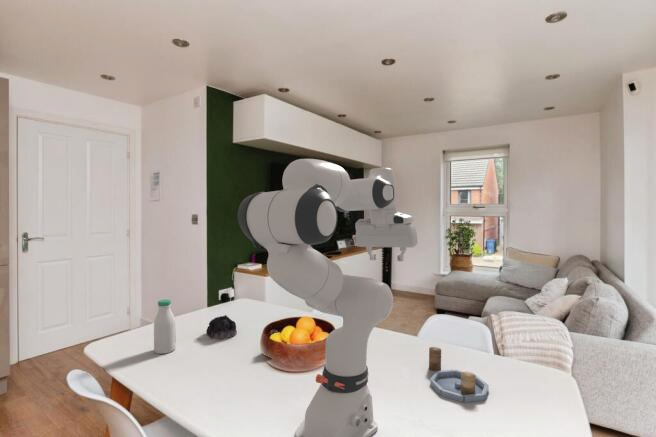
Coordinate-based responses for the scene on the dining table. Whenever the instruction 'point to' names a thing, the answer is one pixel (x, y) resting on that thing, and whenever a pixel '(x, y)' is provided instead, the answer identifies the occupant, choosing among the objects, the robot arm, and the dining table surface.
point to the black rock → (221, 328)
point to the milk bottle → (164, 329)
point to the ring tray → (457, 386)
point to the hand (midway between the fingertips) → (386, 260)
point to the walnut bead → (434, 358)
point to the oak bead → (468, 383)
